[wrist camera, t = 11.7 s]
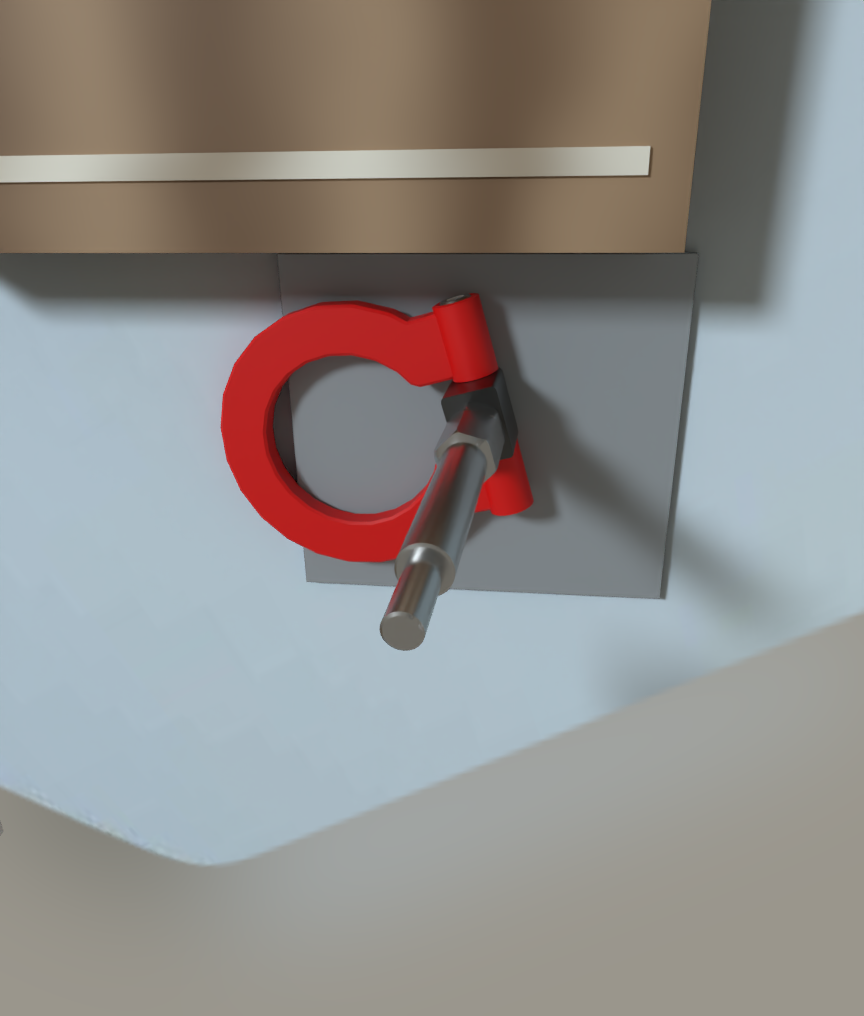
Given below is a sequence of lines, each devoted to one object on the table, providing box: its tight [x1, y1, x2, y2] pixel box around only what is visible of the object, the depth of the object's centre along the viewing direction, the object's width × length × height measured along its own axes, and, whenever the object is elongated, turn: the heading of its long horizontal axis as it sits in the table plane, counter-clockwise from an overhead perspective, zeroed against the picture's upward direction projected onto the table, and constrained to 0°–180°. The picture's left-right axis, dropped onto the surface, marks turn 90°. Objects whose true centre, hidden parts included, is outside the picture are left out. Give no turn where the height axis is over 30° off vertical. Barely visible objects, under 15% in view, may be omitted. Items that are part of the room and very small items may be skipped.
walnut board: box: [0, 0, 711, 253], centre depth 20 cm, size 22×10×4 cm, turn 91°
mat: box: [277, 253, 699, 599], centre depth 26 cm, size 12×11×1 cm
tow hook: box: [221, 293, 534, 651], centre depth 20 cm, size 8×13×9 cm
